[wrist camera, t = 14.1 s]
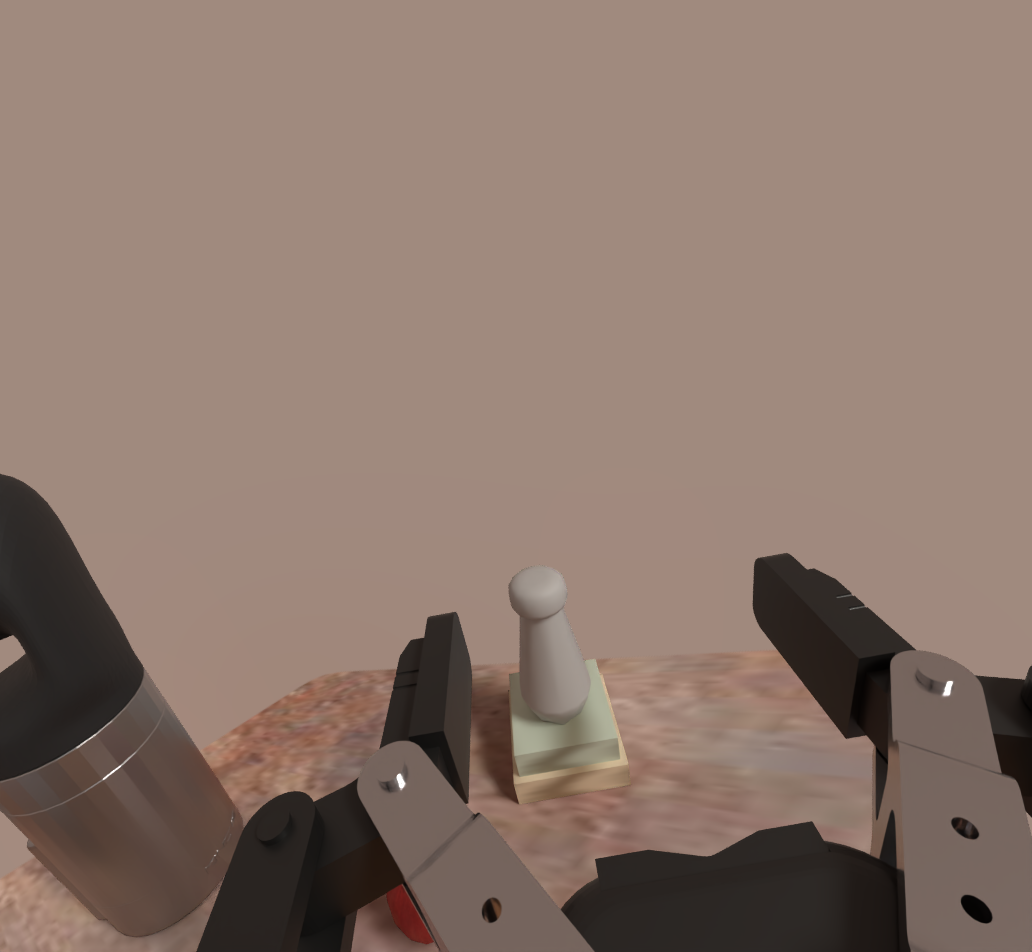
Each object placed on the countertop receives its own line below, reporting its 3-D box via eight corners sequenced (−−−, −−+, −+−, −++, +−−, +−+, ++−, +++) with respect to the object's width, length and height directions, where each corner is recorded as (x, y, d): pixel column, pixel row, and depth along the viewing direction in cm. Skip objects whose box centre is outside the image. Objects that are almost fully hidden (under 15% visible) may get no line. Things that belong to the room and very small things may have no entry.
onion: (393, 896, 34) (358, 829, 30) (465, 842, 36) (441, 774, 33) (421, 992, 29) (384, 924, 26) (502, 923, 31) (478, 853, 28)
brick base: (519, 804, 38) (508, 763, 36) (512, 708, 46) (503, 670, 44) (630, 784, 38) (626, 742, 36) (604, 692, 46) (599, 653, 44)
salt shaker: (521, 682, 42) (493, 562, 37) (584, 669, 43) (565, 547, 37) (529, 741, 37) (499, 610, 32) (601, 726, 37) (582, 593, 32)
